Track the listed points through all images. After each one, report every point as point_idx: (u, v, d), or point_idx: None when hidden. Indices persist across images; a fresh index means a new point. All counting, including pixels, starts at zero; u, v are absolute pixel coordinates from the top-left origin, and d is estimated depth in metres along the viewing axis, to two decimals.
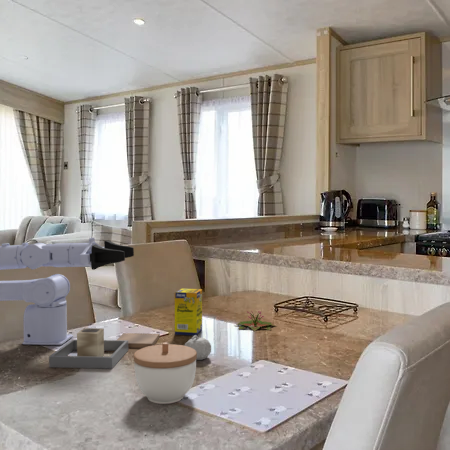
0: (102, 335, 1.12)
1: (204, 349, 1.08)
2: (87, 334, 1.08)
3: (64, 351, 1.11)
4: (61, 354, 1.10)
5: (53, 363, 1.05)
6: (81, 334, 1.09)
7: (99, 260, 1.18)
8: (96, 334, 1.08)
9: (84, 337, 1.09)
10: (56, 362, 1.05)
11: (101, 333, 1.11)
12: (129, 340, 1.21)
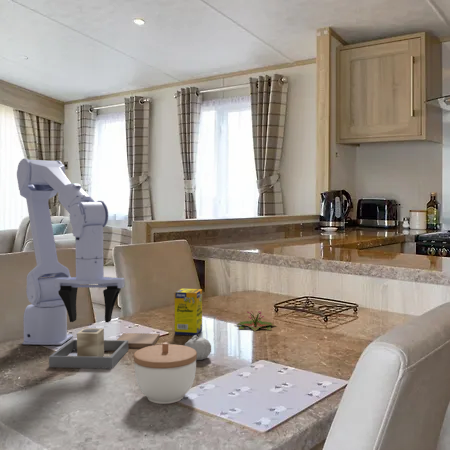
0: (102, 335, 1.12)
1: (204, 349, 1.08)
2: (87, 334, 1.08)
3: (64, 351, 1.11)
4: (61, 354, 1.10)
5: (53, 363, 1.05)
6: (81, 334, 1.09)
7: None
8: (96, 334, 1.08)
9: (84, 337, 1.09)
10: (56, 362, 1.05)
11: (101, 333, 1.11)
12: (129, 340, 1.21)
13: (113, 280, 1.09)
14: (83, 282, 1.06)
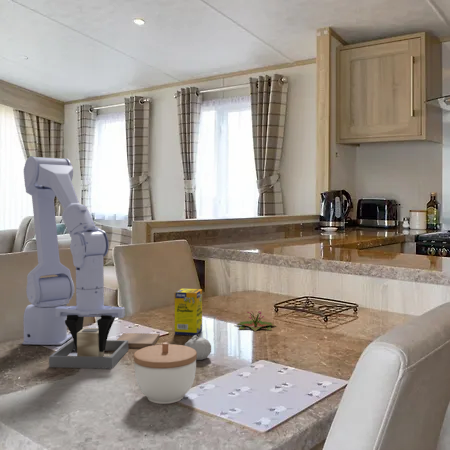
0: None
1: (204, 349, 1.08)
2: (87, 334, 1.08)
3: (64, 351, 1.11)
4: (61, 354, 1.10)
5: (53, 363, 1.05)
6: (81, 334, 1.09)
7: None
8: (96, 334, 1.08)
9: (84, 337, 1.09)
10: (56, 362, 1.05)
11: None
12: (129, 340, 1.21)
13: (113, 310, 1.09)
14: (83, 312, 1.06)
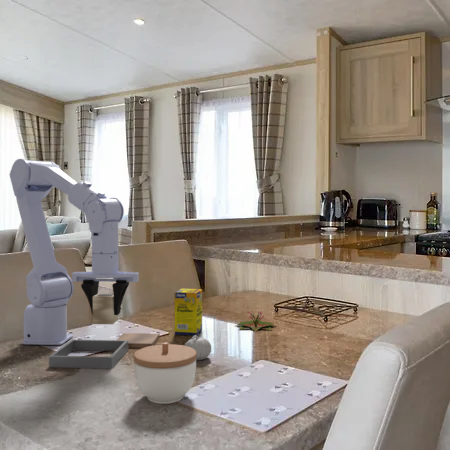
0: None
1: (204, 349, 1.08)
2: (102, 297, 1.12)
3: (64, 351, 1.11)
4: (61, 354, 1.10)
5: (53, 363, 1.05)
6: (97, 297, 1.12)
7: None
8: (111, 297, 1.12)
9: (99, 300, 1.12)
10: (56, 362, 1.05)
11: None
12: (129, 340, 1.21)
13: (128, 274, 1.12)
14: (99, 276, 1.10)
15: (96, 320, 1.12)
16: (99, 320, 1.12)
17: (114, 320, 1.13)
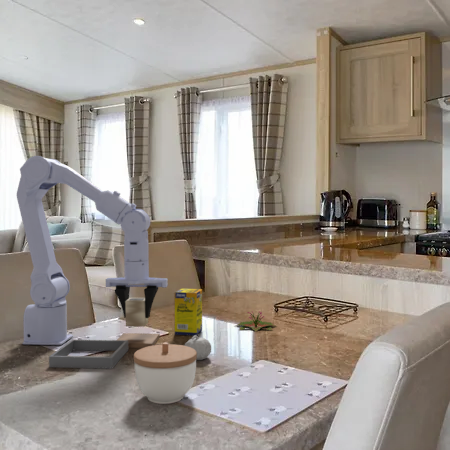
0: None
1: (204, 349, 1.08)
2: (135, 302, 1.21)
3: (64, 351, 1.11)
4: (61, 354, 1.10)
5: (53, 363, 1.05)
6: (129, 302, 1.21)
7: None
8: (143, 302, 1.21)
9: (132, 304, 1.21)
10: (56, 362, 1.05)
11: None
12: (129, 340, 1.21)
13: (158, 280, 1.21)
14: (132, 282, 1.19)
15: (129, 323, 1.21)
16: (131, 323, 1.21)
17: (145, 323, 1.22)
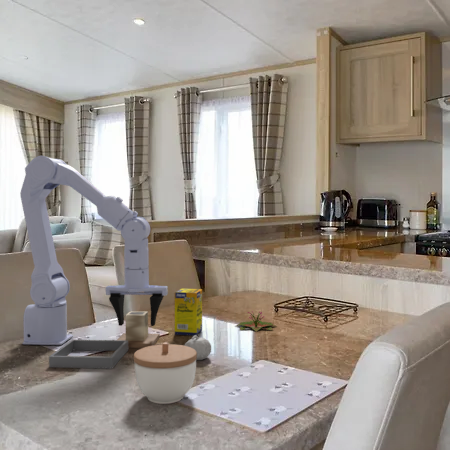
0: (147, 317, 1.24)
1: (204, 349, 1.08)
2: (135, 316, 1.21)
3: (64, 351, 1.11)
4: (61, 354, 1.10)
5: (53, 363, 1.05)
6: (129, 316, 1.21)
7: None
8: (143, 316, 1.21)
9: (132, 318, 1.21)
10: (56, 362, 1.05)
11: (146, 315, 1.23)
12: None
13: (158, 288, 1.21)
14: (132, 290, 1.19)
15: (129, 337, 1.21)
16: (131, 337, 1.21)
17: (145, 337, 1.22)
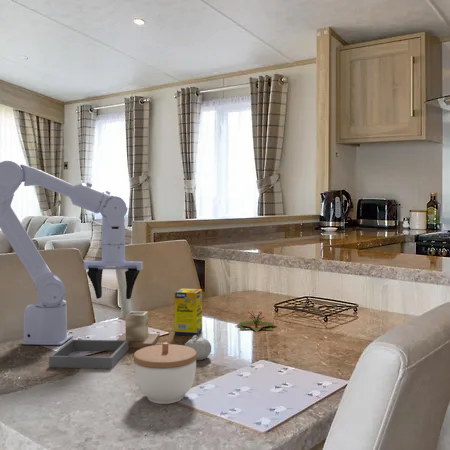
0: (147, 317, 1.24)
1: (204, 349, 1.08)
2: (135, 316, 1.21)
3: (64, 351, 1.11)
4: (61, 354, 1.10)
5: (53, 363, 1.05)
6: (129, 316, 1.21)
7: None
8: (143, 316, 1.21)
9: (132, 318, 1.21)
10: (56, 362, 1.05)
11: (146, 315, 1.23)
12: None
13: (133, 263, 1.28)
14: (108, 264, 1.26)
15: (129, 337, 1.21)
16: (131, 337, 1.21)
17: (145, 337, 1.22)
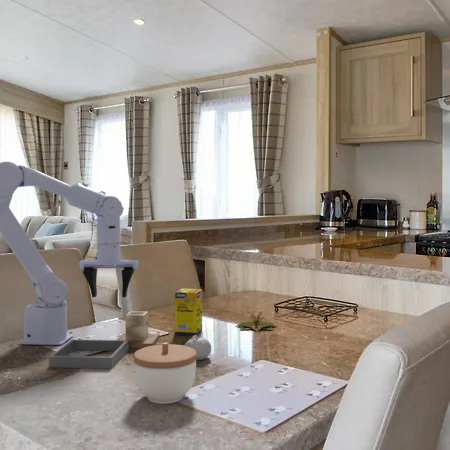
0: (147, 317, 1.24)
1: (204, 349, 1.08)
2: (135, 316, 1.21)
3: (64, 351, 1.11)
4: (61, 354, 1.10)
5: (53, 363, 1.05)
6: (129, 316, 1.21)
7: None
8: (143, 316, 1.21)
9: (132, 318, 1.21)
10: (56, 362, 1.05)
11: (146, 315, 1.23)
12: None
13: (129, 262, 1.30)
14: (105, 263, 1.27)
15: (129, 337, 1.21)
16: (131, 337, 1.21)
17: (145, 337, 1.22)
